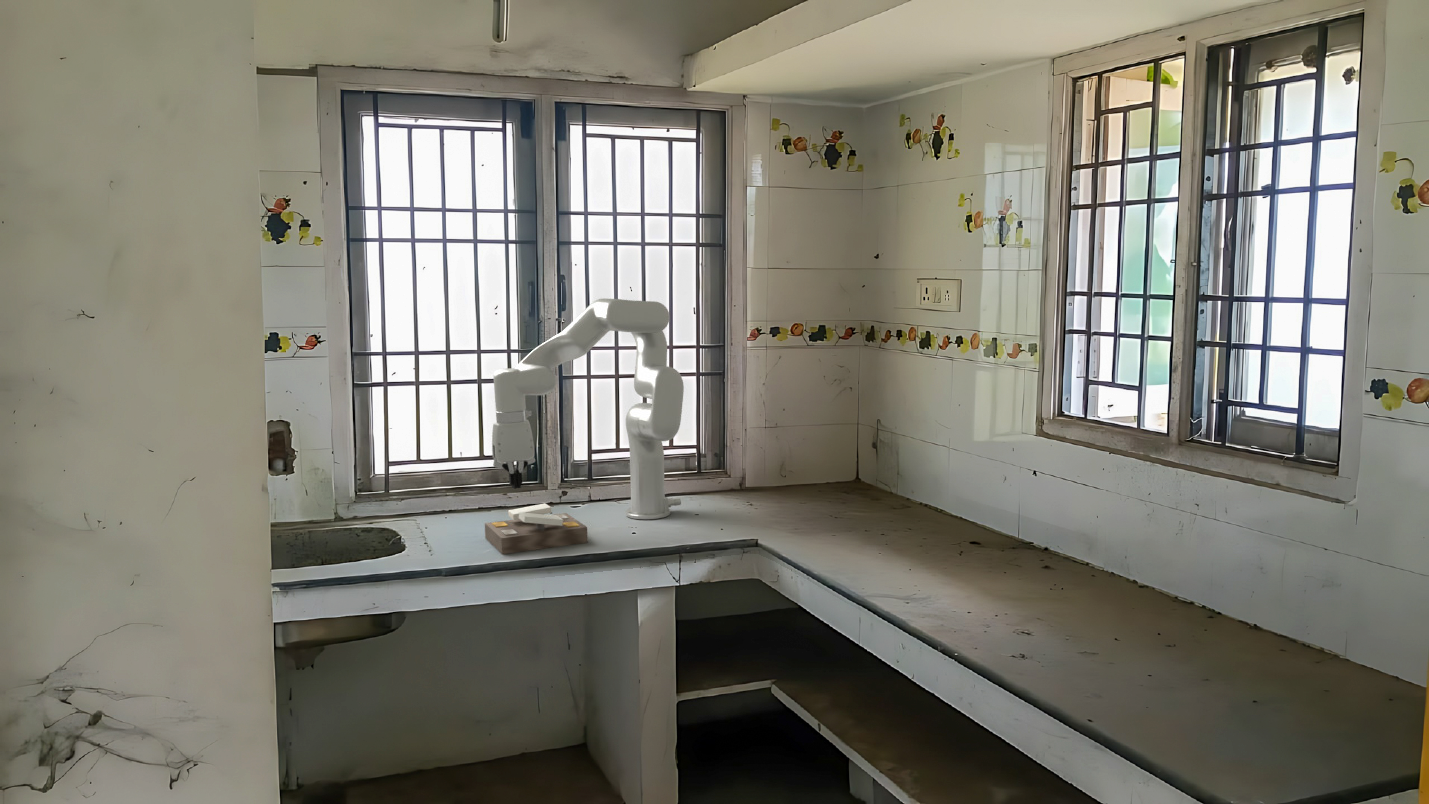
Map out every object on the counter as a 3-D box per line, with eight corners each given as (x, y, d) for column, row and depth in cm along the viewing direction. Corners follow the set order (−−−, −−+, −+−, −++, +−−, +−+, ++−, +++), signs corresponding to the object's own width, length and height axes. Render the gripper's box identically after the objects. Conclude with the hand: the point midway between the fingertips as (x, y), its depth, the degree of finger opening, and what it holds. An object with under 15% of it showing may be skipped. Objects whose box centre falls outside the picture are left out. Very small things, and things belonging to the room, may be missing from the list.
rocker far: (545, 508, 274) (545, 503, 274) (551, 512, 270) (550, 507, 269) (508, 516, 270) (508, 510, 270) (513, 520, 265) (513, 514, 265)
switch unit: (566, 527, 279) (566, 507, 278) (587, 542, 264) (586, 521, 263) (485, 538, 269) (484, 517, 269) (502, 554, 254) (501, 532, 253)
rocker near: (556, 521, 266) (557, 515, 266) (562, 525, 262) (563, 519, 262) (518, 518, 262) (519, 512, 262) (524, 522, 257) (525, 516, 257)
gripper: (535, 412, 271) (540, 480, 274) (478, 418, 265) (483, 488, 267) (544, 416, 264) (548, 486, 267) (485, 422, 258) (491, 494, 261)
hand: (516, 487), depth 267 cm, fingers closed
